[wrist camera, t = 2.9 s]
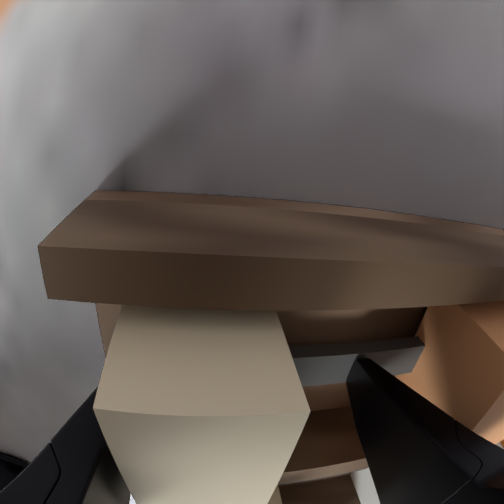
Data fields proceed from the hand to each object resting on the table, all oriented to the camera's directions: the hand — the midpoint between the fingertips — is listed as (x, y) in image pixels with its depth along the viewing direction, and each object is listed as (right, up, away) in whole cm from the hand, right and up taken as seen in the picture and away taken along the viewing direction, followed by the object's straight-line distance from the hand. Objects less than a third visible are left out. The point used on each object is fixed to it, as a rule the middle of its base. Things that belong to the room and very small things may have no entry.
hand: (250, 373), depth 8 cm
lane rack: (+4, -3, +4) cm, 6 cm away
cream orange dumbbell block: (+4, 0, +1) cm, 4 cm away
